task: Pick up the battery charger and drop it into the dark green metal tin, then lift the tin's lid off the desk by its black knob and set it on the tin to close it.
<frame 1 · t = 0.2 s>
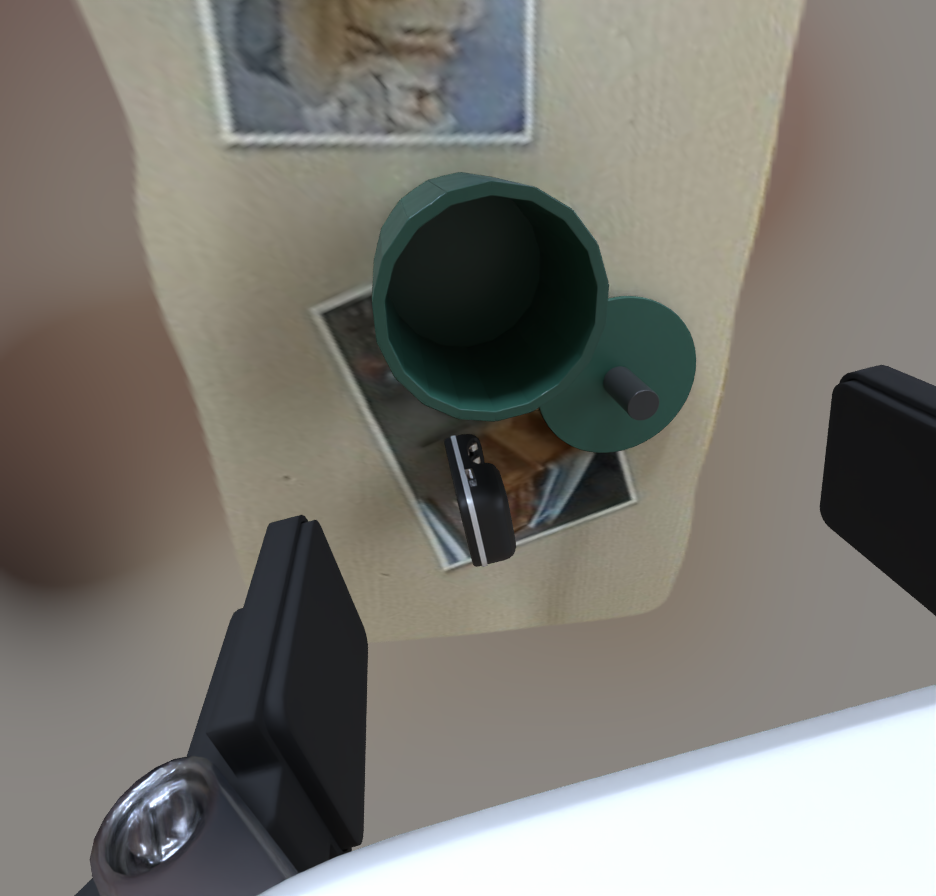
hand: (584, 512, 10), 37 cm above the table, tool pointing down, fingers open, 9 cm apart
tin: (462, 269, 44), on the table
battery charger: (470, 461, 52), on the table
lid: (614, 378, 49), point 1 cm above the table
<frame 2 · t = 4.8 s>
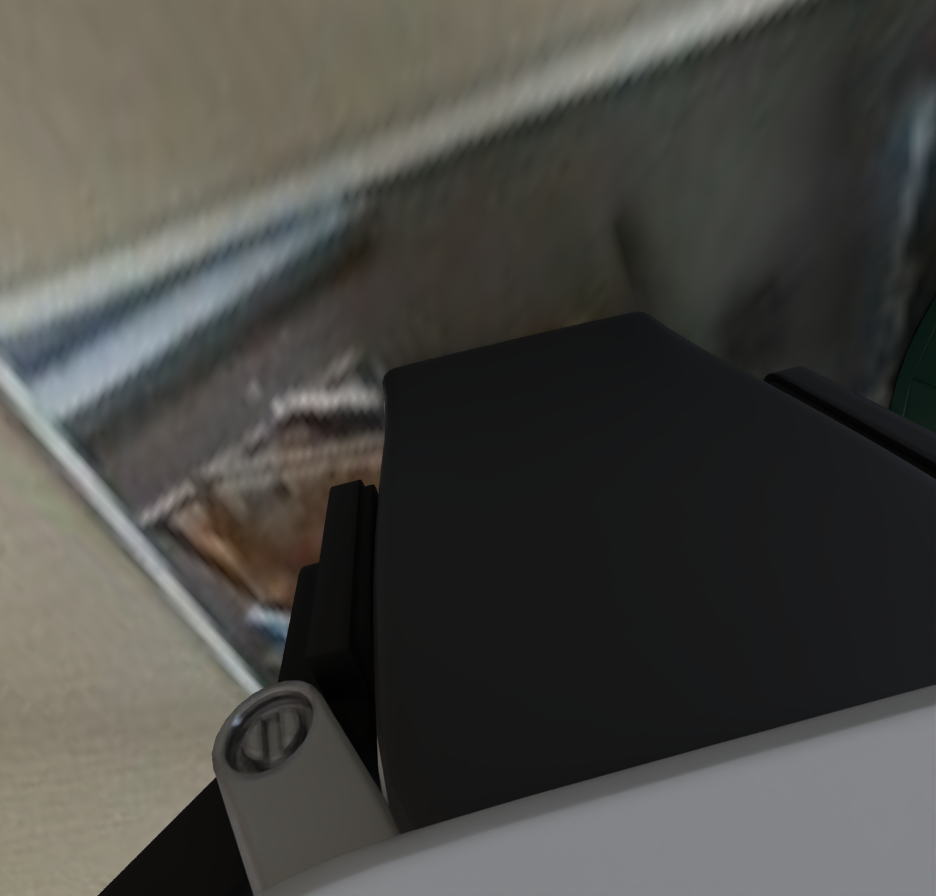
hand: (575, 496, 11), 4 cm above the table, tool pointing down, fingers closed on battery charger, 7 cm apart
battery charger: (521, 402, 15), on the table, touching gripper
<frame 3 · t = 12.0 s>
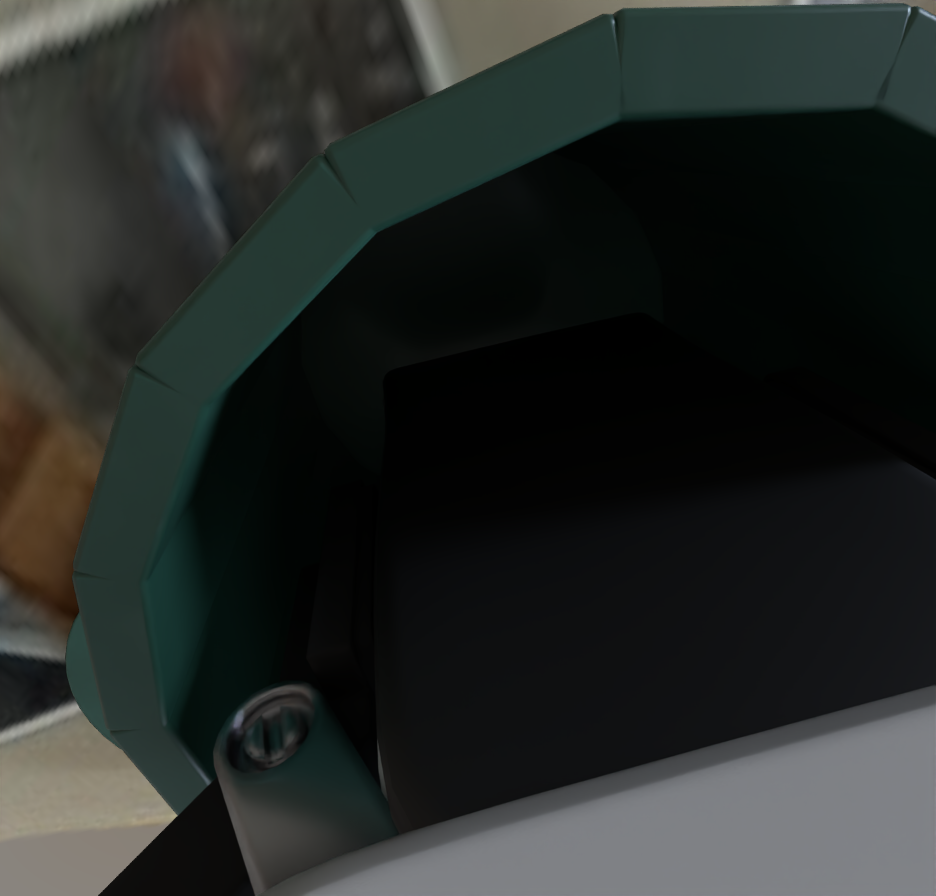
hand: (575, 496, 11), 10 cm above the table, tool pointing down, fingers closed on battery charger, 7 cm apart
tin: (486, 343, 19), on the table
battery charger: (521, 402, 15), point 5 cm above the table, touching gripper
lid: (262, 666, 24), point 1 cm above the table
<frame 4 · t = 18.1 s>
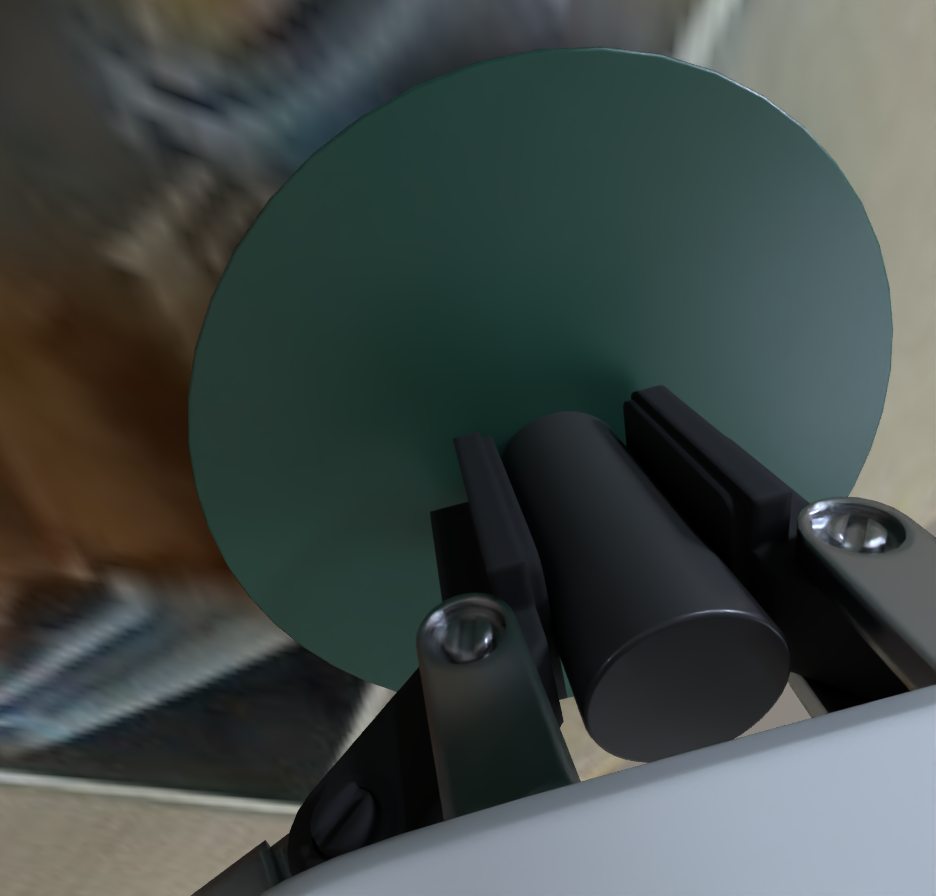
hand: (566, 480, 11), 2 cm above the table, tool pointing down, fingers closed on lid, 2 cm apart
lid: (551, 454, 12), point 1 cm above the table, touching gripper
when the fingers open (15 cm above the table, at t = 23.5 s): lid stays where it is, resting on tin.
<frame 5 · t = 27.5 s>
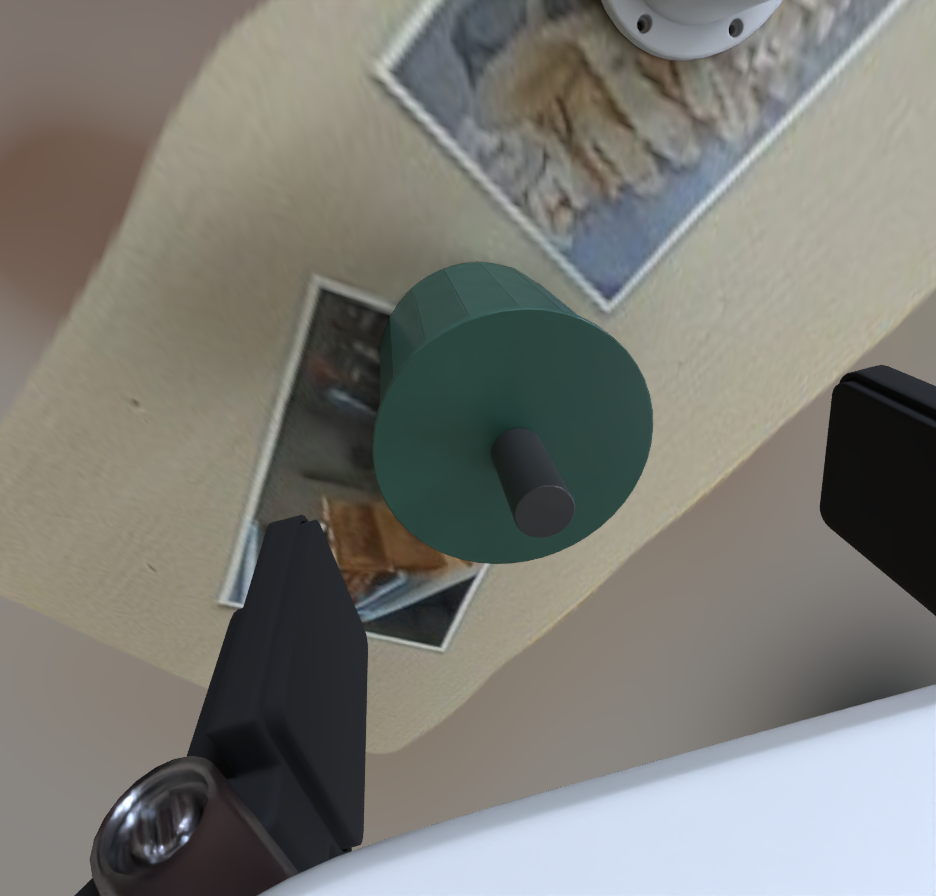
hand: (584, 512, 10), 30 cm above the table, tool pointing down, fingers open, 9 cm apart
tin: (475, 359, 40), on the table
lid: (514, 445, 29), point 13 cm above the table, touching tin
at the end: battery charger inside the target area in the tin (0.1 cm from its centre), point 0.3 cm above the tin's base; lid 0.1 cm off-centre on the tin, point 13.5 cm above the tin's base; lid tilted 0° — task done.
